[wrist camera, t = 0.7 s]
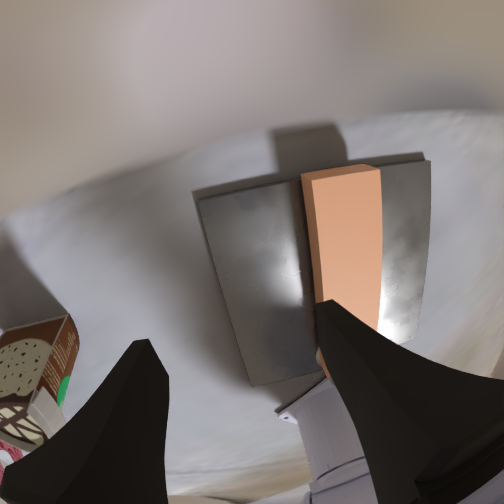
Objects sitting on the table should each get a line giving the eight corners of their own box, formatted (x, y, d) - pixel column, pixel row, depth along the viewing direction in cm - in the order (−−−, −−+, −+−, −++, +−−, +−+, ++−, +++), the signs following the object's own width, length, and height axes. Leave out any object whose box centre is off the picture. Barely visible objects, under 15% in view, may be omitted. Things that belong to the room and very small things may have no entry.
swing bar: (362, 359, 23) (375, 383, 21) (319, 372, 23) (330, 398, 21) (361, 163, 16) (387, 172, 13) (299, 173, 16) (316, 183, 13)
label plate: (425, 159, 17) (432, 161, 17) (411, 335, 25) (415, 340, 24) (198, 199, 17) (197, 203, 16) (251, 383, 24) (252, 390, 23)
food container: (31, 375, 22) (0, 447, 13) (-2, 331, 19) (-47, 402, 10) (119, 365, 22) (95, 465, 13) (82, 310, 19) (32, 412, 10)
